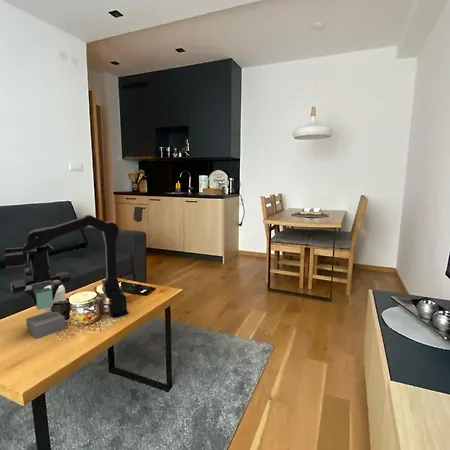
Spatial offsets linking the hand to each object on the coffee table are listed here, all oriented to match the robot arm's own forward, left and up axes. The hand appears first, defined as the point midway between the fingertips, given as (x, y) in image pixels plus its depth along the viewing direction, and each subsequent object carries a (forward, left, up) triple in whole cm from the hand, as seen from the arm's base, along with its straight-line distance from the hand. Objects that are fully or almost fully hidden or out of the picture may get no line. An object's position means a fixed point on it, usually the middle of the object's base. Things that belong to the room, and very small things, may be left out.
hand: (44, 303), depth 112 cm
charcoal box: (0, 0, -11) cm, 11 cm away
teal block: (0, 0, -1) cm, 1 cm away
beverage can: (-6, -13, -11) cm, 18 cm away
